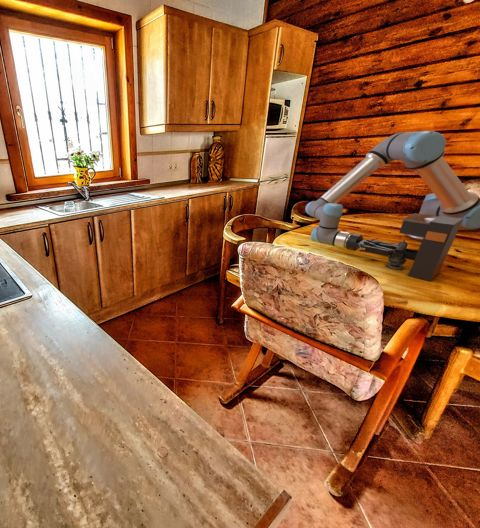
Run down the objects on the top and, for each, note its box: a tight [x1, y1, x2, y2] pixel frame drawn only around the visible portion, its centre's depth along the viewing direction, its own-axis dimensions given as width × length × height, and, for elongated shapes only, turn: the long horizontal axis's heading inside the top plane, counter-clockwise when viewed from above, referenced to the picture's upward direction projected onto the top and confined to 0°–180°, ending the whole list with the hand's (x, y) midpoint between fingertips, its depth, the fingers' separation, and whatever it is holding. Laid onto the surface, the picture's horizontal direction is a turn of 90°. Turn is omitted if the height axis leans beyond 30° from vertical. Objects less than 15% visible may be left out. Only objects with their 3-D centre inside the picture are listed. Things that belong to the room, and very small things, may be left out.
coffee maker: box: [398, 212, 463, 282], centre depth 107 cm, size 13×13×22 cm
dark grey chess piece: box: [385, 239, 409, 270], centre depth 114 cm, size 6×6×12 cm
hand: (417, 255), depth 109 cm, fingers closed on dark grey chess piece, 4 cm apart
